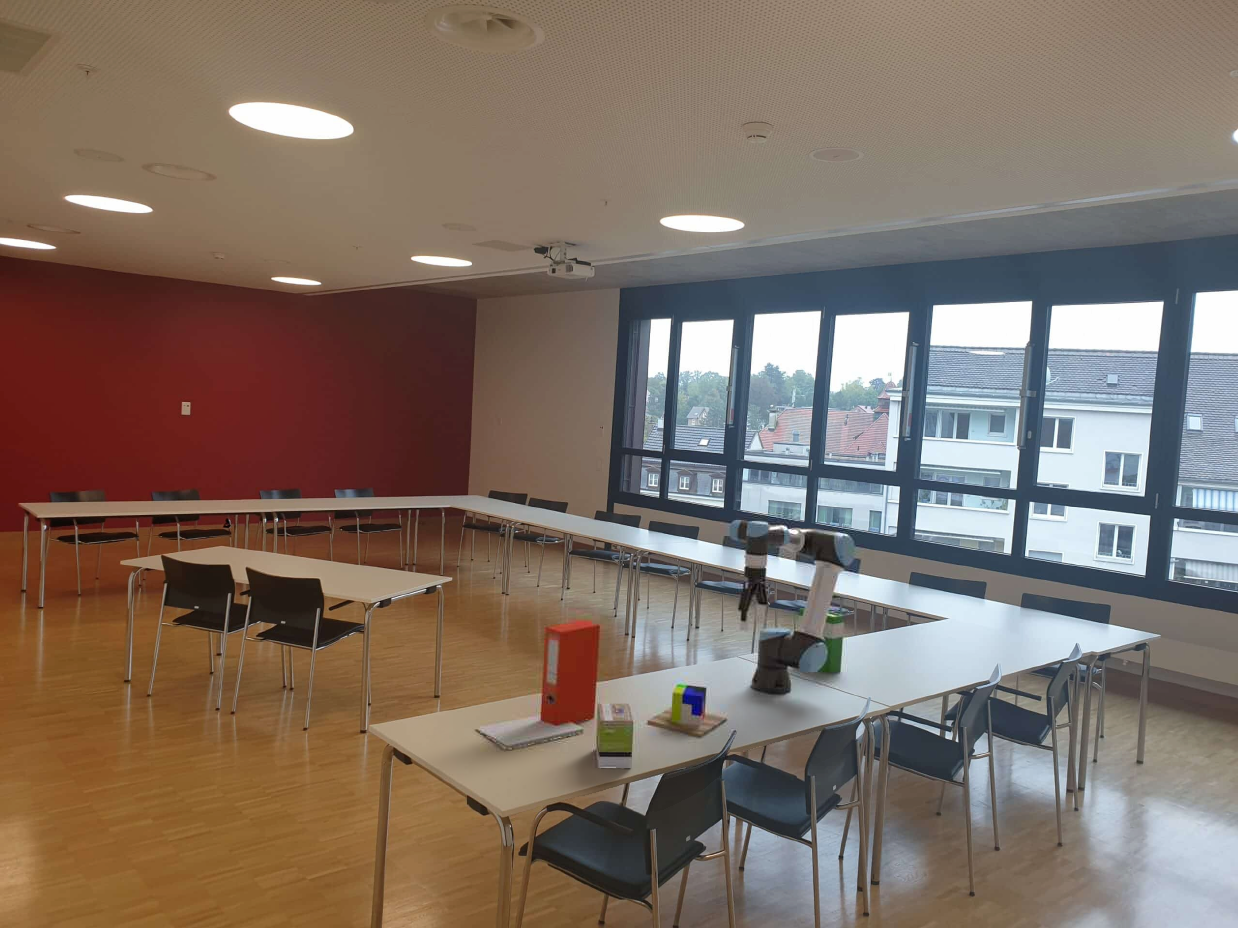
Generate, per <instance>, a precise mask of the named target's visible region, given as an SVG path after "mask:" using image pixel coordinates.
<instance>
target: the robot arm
mask: <svg viewBox="0 0 1238 928" xmlns="http://www.w3.org/2000/svg"><path fill="white" fill-rule="evenodd" d="M728 533H729V537H730V538H731V539H732V540H734V541H738V542H743V543H745V554H744V556H743V558H744V565H745V566H744V568H743V569H744V570H743V575H744V577H745V578H747V579H748V580H747V582H746V581H744V582H743V586H742V591H741V595H740V600H739V602H738V603H739V604H738V607H737V611H739V612H740V620H739V621H740V623H739V630H740V631H744V632H745V631H746V632H748V631H749V619H750V611H749V609H750V607H751V605H752V601H753V598H754V596H755V597H756V601H757V603H756V608H755V609H756V611H755V623H757V624H762V625H763V624H764V622H765V621H764V620H765V606H767V605H768V600H769V599H768V593H767V587H766V586H767V584H766V577H767V566H768V565H767V564H768V549H770V548H779V549H786V551H788V552H790V553H794V554H797V555H800V556H804V557H806V558H810V559H814V561H813V564H814V565H815V571H814V576H813V578H812V583H811V585H810V589H809V593H808V596H807V599H806V604H805V607H804V609H805V610H804V613H803V617H802V620H801V624H800V627H799V628H798V627H797V628H796V629H794V630H793V634H791V633H792V632H791V630H790V629H789V628H785V627H768V628H763V629H761V630H760V632H759V637H758V651H757V666H756V669H755V671H754V673H753V677H752V678H751V687H752V689H753V690H756V691H758V692H762V693H766V694H774V695H777V694H779V695H782V694H786V693H790V692H791V691H792V682H791V678H790V674H789V670H788V669H789V668H793V669H795V670H799V671H802V672H803V673H804V672H805V673H817V672H819V671H818V670H819V669H821V668H822V666H823V665H824V663H825V661H826V658H827V647H826V645H825V644H824V641H825V639H824V637H823V636H822V632H823V629H824V625H825V621H826V618H827V614H828V611H829V610H830V606H831V602H832V599H833V595H834V592H835V587H836V585H837V582H838V579H839V578H838V577H839V574H840V573H842V572H844V571H845V567H846V566H849V565H851V564H852V563H853V562H854V560H855V556H856V555H855V554H856V546H855V542H854V540H853V538H852V537H851V536H850V535H849V534H847V533H841V532H838V531H831V530H824V529H823V530H822V529H819V528H800V527H799V528H798V527H792V528H789V529H788V527H787V526H786V525H780V524H776V525H772V524H769V522H766V521H761V520H755V521H754V520H752V521H747V520H743V519H736V520H733V521H732V522H731V523H730V525H729V530H728Z"/></svg>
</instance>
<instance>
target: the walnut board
mask: <svg viewBox="0 0 1238 928" xmlns="http://www.w3.org/2000/svg"><path fill="white" fill-rule="evenodd" d="M671 712H672V706H671V707H669V708H667V709H665V710H664V711H662V712H661V713H658V714H656V715H655V716H653V717H651V718H649V719H647V724H649V725H654V726H656V727H661V728H664V729H668V730H671V731H674V732H675V731H676V732H679V733H683V734H686V735H689V736H694V737H697V738H702V737H704V736H706V735H708V733H711V732H712V731H713V730H716V729H717V728H718V727H719V726H721V725H723V724H724V723H726V722H727V721H728V717H726V716H721V715H718V714H713V713H710V712H706V711H705V717H704V719H703V721H702V724H701V726H697V725H690V724H683V723H675V722H671Z"/></svg>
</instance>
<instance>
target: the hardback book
mask: <svg viewBox="0 0 1238 928" xmlns="http://www.w3.org/2000/svg"><path fill="white" fill-rule="evenodd" d="M804 610H805V608H801V607H800V608H799V611H798V627H797V629H798V628H799V627H800V624H801V620H802V617H803V613H804ZM844 630H845V615H844V614H842V613H836V612H833V611H828V614H827V618H826V621H825V625H824V629H823V632H822V636H823V637H824V639H825V641H824V644H825V645H826V647H827V658H826V661H825V663H824V665H823V666H822V668H821V669H819V670H818V671H817V672H821V673H824V674H827V675H833V674H837V673H841V671H842V670H841V668H842V658H843V657H842V656H843V642H844Z"/></svg>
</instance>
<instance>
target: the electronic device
mask: <svg viewBox="0 0 1238 928" xmlns="http://www.w3.org/2000/svg"><path fill="white" fill-rule="evenodd" d="M540 719H541V714H537V715H533V716H529V717H523V718H517V719H514V720H513V719H511V720H509V721H503V722H498V723H495V724H488V725H484V726H479V727H476V728H475V730H476V729H477V730H479V731H480V732H482V733H484V734H485V735H486V736H488V737H490V738H491V739H493V740H495V741H496V742H497V743H499V744H500V745H502V746H503V747H505V748H506V749H509V748H515V747H519V746H524V745H528V744H532V743H538V742H542V741H545V740H550V739H554V738H558V737H565V736H569V735H573V734H578V733H582V734H584V727H582V726H580V725H578V724H577V723H575V724H574V723H572V722H568V723H565V724H561V725H557V726H555V725H552V724H549V723H547V722H544V721H541V720H540ZM477 730H476V731H477ZM480 732H479V733H480ZM578 735H579V734H578ZM486 736H485V737H486ZM569 737H570V736H569ZM565 738H566V737H565ZM497 743H496V744H497ZM538 744H539V743H538ZM500 745H499V746H500ZM503 747H502V748H503ZM506 749H505V750H506Z"/></svg>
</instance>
